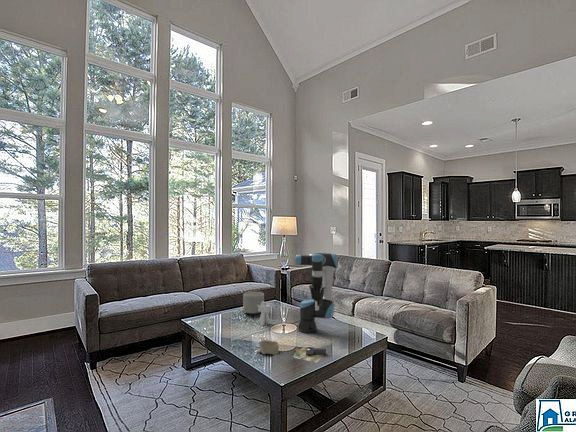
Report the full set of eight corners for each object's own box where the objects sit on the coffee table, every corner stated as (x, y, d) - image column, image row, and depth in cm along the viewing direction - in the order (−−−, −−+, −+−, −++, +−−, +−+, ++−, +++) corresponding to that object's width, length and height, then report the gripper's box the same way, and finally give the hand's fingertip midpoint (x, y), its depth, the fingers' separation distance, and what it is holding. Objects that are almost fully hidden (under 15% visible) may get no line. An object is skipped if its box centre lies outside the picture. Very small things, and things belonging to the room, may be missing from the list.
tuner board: (290, 358, 202) (290, 356, 202) (302, 347, 218) (302, 345, 219) (317, 364, 193) (317, 362, 193) (327, 353, 210) (327, 350, 210)
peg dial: (295, 355, 203) (295, 350, 203) (295, 351, 209) (295, 346, 209) (326, 355, 203) (326, 351, 203) (325, 351, 209) (325, 347, 209)
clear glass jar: (269, 326, 262) (270, 304, 262) (255, 324, 266) (255, 302, 267) (275, 321, 273) (275, 300, 274) (260, 320, 278) (260, 299, 278)
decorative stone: (257, 350, 214) (257, 338, 214) (278, 351, 213) (278, 338, 214) (255, 356, 205) (255, 343, 206) (278, 356, 205) (278, 343, 205)
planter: (243, 310, 306) (243, 291, 306) (263, 310, 308) (263, 291, 308) (242, 316, 287) (243, 296, 287) (264, 316, 289) (264, 296, 289)
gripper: (306, 275, 226) (306, 309, 226) (321, 278, 217) (321, 313, 217) (313, 274, 232) (312, 307, 231) (328, 276, 223) (327, 310, 223)
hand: (317, 309), depth 224 cm, fingers closed
